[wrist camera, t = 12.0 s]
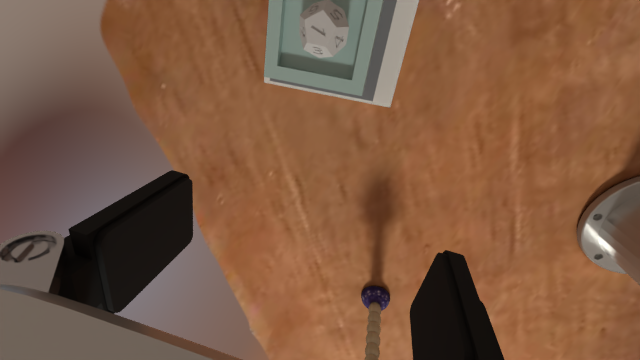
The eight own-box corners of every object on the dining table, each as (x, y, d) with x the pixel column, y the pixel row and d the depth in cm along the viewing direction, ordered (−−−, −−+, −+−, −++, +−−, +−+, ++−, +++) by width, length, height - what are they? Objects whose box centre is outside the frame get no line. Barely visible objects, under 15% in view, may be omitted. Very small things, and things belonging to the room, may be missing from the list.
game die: (317, -8, 21) (308, -15, 18) (360, 21, 21) (357, 18, 18) (295, 39, 22) (283, 39, 20) (335, 66, 23) (329, 69, 20)
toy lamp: (370, 311, 45) (366, 442, 30) (351, 292, 44) (336, 419, 29) (395, 299, 43) (403, 433, 28) (375, 279, 42) (372, 407, 27)
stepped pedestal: (425, -27, 26) (446, -60, 18) (389, 105, 31) (393, 128, 23) (276, -50, 27) (231, -91, 19) (267, 81, 33) (228, 94, 24)
